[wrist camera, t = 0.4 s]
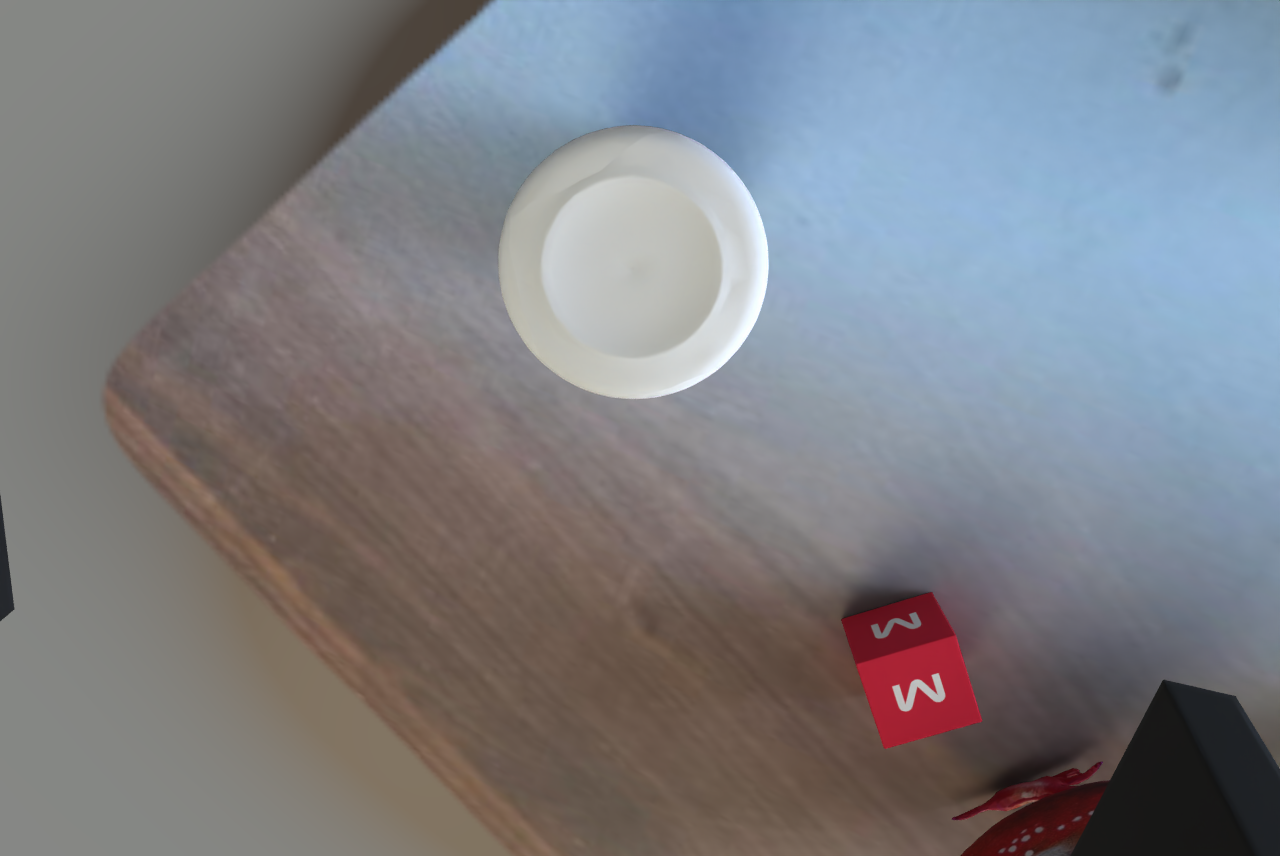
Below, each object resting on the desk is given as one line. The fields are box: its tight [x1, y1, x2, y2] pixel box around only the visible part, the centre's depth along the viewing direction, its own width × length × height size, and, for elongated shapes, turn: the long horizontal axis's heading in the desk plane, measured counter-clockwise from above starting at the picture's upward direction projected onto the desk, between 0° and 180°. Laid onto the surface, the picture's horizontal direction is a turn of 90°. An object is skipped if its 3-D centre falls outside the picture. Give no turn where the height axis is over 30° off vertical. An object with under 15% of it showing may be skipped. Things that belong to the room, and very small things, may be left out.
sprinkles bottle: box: [498, 125, 769, 399], centre depth 23 cm, size 5×5×14 cm
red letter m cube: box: [841, 592, 982, 749], centre depth 31 cm, size 3×3×3 cm
